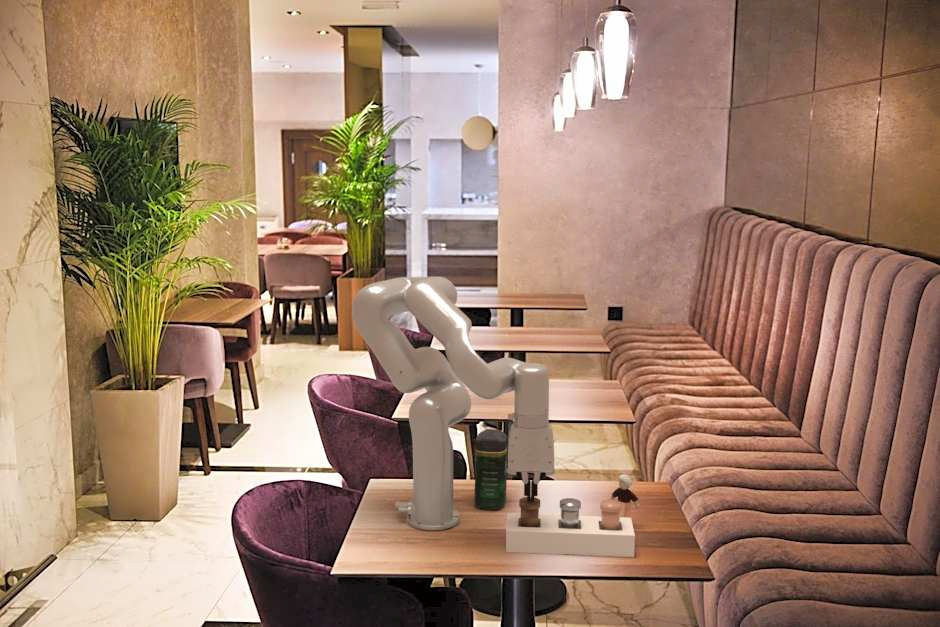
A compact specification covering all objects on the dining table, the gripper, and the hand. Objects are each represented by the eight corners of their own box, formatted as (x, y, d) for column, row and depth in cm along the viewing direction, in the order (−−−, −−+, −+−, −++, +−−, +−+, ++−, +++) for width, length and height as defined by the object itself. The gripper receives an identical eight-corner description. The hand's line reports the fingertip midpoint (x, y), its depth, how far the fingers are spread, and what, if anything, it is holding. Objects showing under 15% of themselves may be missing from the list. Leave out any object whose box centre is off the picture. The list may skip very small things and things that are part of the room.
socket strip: (505, 552, 212) (506, 530, 211) (507, 533, 222) (508, 513, 221) (634, 557, 210) (634, 535, 209) (630, 538, 220) (631, 517, 219)
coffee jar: (504, 511, 235) (505, 439, 232) (472, 510, 236) (472, 437, 233) (508, 497, 244) (509, 427, 241) (477, 495, 245) (477, 425, 242)
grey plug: (559, 531, 213) (559, 505, 212) (558, 523, 218) (559, 497, 217) (580, 532, 213) (581, 506, 212) (579, 523, 218) (580, 498, 216)
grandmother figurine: (605, 525, 227) (606, 474, 225) (610, 520, 230) (612, 469, 228) (636, 532, 224) (638, 480, 221) (641, 526, 227) (643, 475, 225)
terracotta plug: (600, 532, 213) (600, 507, 212) (599, 524, 217) (599, 499, 216) (621, 533, 212) (622, 508, 211) (620, 525, 217) (620, 500, 216)
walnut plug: (518, 529, 214) (518, 504, 213) (519, 521, 219) (519, 496, 218) (539, 530, 214) (540, 505, 213) (539, 522, 218) (540, 497, 217)
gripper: (496, 423, 208) (496, 504, 212) (566, 425, 207) (564, 506, 211) (498, 414, 216) (498, 492, 219) (565, 415, 215) (564, 493, 218)
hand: (530, 498), depth 215 cm, fingers closed
